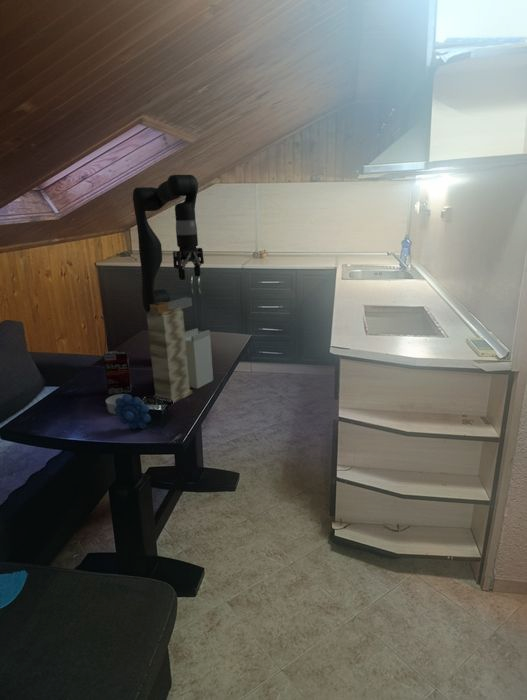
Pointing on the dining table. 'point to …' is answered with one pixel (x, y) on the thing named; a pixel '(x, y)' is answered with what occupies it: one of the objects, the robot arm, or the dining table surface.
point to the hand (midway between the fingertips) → (190, 277)
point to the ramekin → (113, 402)
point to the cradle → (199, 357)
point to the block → (169, 305)
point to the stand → (169, 354)
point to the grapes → (132, 411)
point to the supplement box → (117, 371)
